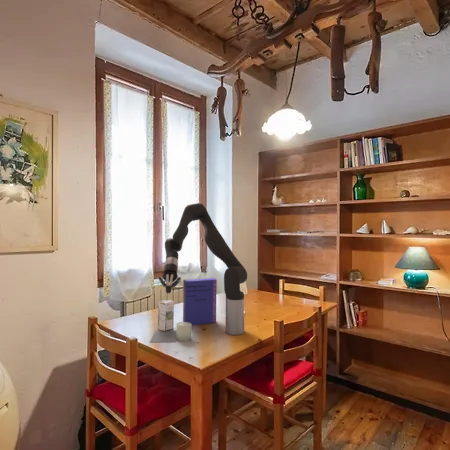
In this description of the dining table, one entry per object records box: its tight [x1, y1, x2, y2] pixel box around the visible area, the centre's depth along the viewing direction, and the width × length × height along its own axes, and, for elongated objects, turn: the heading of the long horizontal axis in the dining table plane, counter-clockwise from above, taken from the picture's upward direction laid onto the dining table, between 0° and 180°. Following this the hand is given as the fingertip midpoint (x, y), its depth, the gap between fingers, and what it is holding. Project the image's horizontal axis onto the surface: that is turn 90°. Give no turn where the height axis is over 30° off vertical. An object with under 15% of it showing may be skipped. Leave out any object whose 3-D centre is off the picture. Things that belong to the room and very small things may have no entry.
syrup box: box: [157, 299, 175, 331], centre depth 175 cm, size 6×6×14 cm
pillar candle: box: [175, 321, 193, 343], centre depth 162 cm, size 7×7×7 cm
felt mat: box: [149, 330, 178, 343], centre depth 164 cm, size 12×15×1 cm
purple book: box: [182, 277, 218, 326], centre depth 187 cm, size 17×5×24 cm, turn 111°
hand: (168, 292), depth 184 cm, fingers closed
